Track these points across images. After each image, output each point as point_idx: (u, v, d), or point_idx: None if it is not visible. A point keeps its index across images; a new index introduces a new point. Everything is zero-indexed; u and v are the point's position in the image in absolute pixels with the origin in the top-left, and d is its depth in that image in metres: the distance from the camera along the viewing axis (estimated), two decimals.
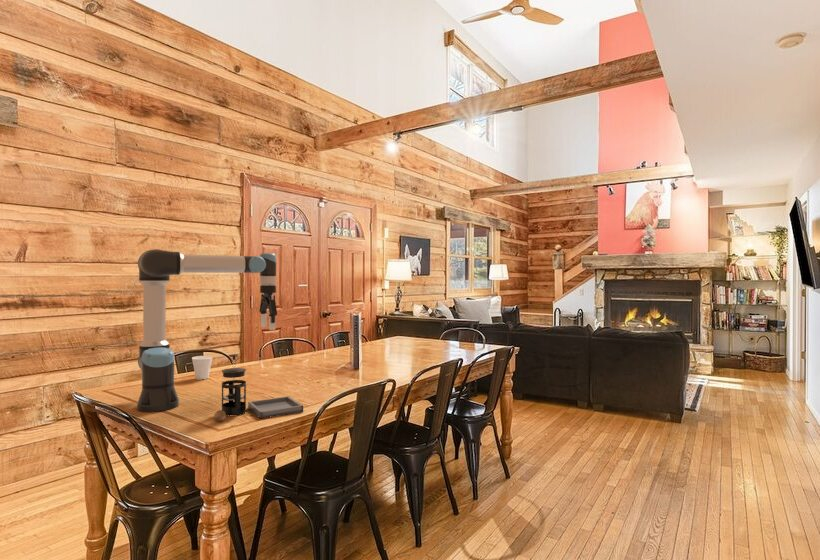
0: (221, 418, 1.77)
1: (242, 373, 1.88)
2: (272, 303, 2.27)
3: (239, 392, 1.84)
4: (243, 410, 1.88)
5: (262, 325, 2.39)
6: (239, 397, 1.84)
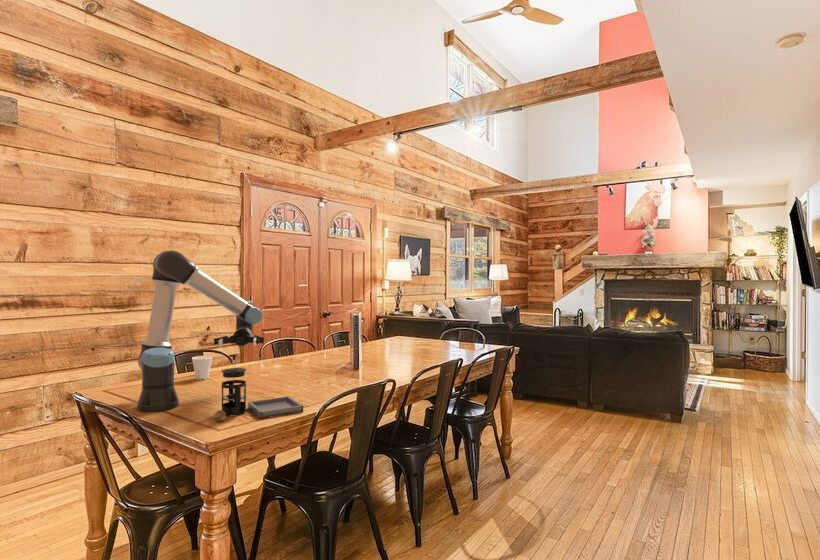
0: (221, 418, 1.77)
1: (242, 373, 1.88)
2: None
3: (239, 392, 1.84)
4: (243, 410, 1.88)
5: (220, 342, 1.97)
6: (239, 397, 1.84)
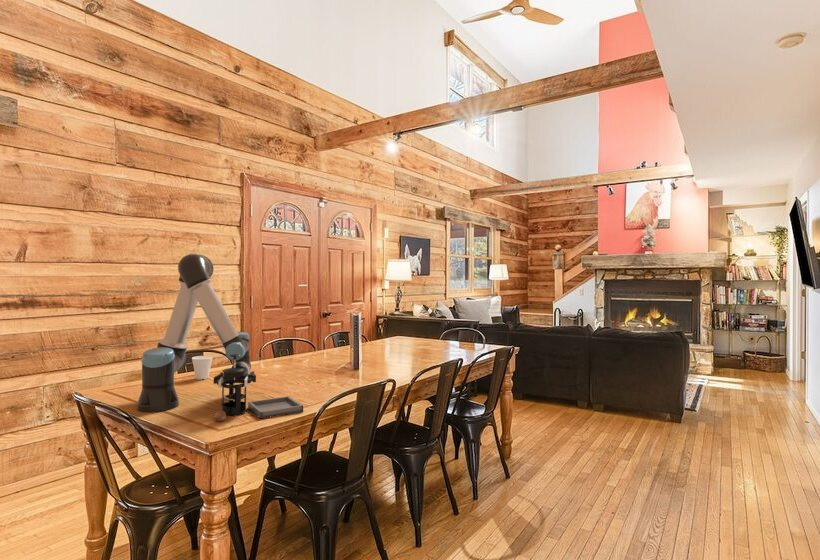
0: (221, 418, 1.77)
1: (243, 373, 1.88)
2: None
3: (239, 392, 1.84)
4: (243, 410, 1.88)
5: (220, 382, 1.84)
6: (239, 397, 1.84)
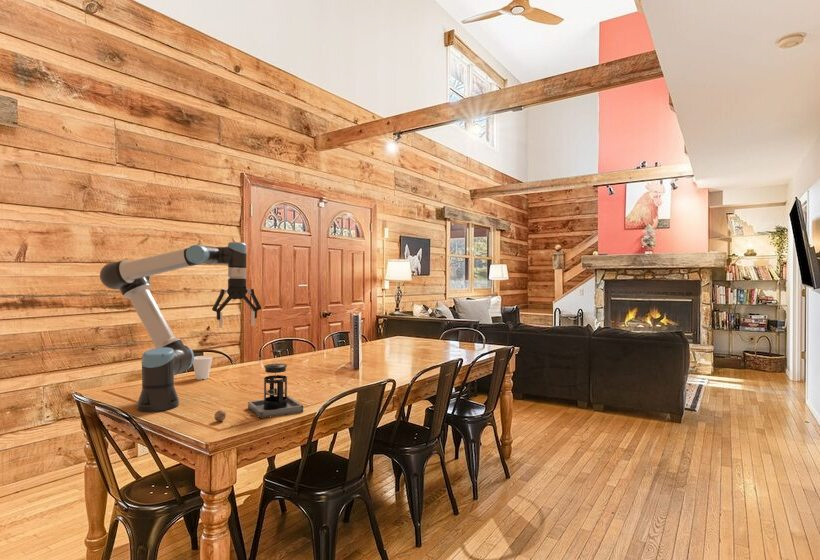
0: (221, 418, 1.77)
1: (284, 368, 1.93)
2: (218, 298, 2.04)
3: (282, 387, 1.89)
4: (285, 404, 1.93)
5: (251, 323, 2.12)
6: (282, 392, 1.89)
